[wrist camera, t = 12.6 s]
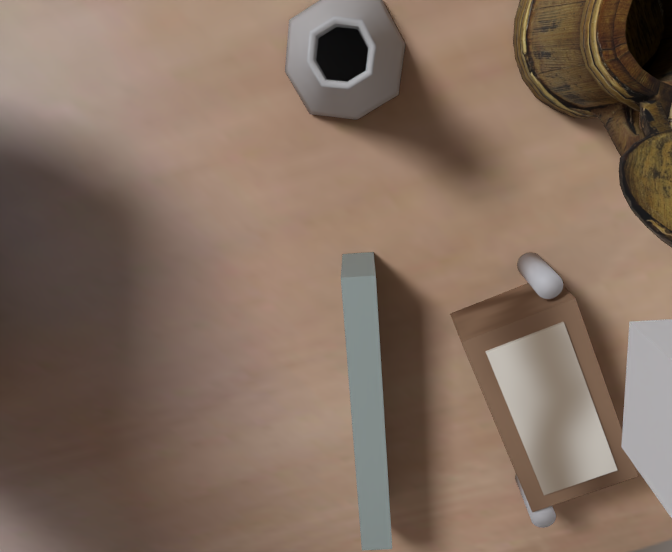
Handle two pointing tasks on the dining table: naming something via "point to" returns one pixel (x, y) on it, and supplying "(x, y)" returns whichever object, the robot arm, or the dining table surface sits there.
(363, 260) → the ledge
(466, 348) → the frame
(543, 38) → the wooden mug
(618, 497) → the dining table surface
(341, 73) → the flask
